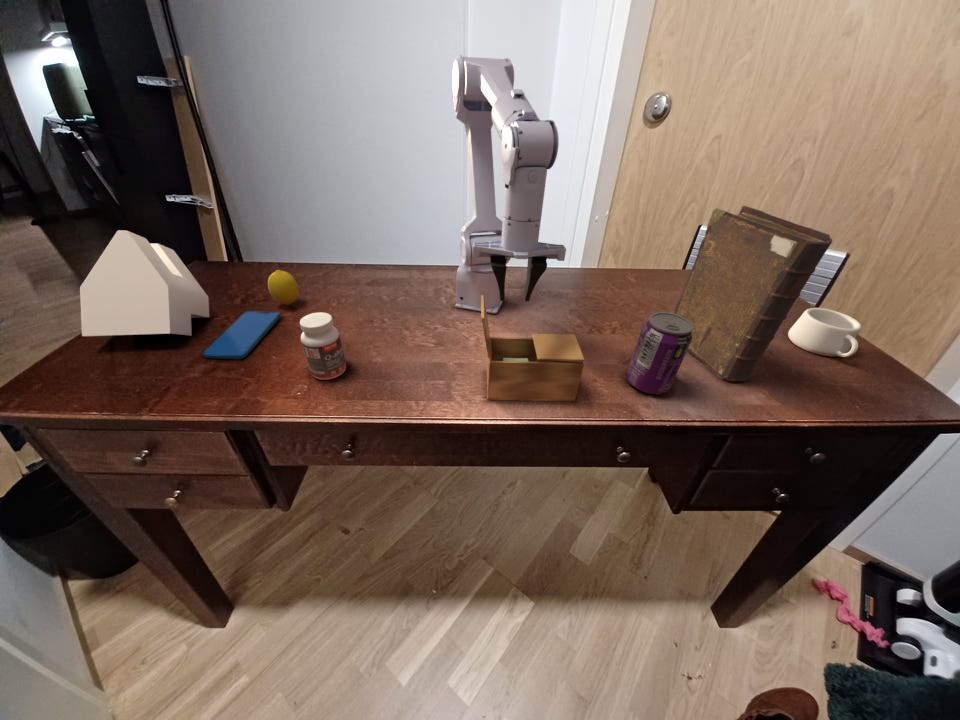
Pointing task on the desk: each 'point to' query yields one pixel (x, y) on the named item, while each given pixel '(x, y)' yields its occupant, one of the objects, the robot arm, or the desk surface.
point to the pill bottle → (322, 346)
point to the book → (745, 286)
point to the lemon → (283, 287)
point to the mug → (826, 332)
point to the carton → (534, 368)
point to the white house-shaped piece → (139, 291)
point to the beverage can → (659, 352)
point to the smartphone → (242, 335)
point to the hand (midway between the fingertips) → (514, 298)
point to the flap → (485, 326)
